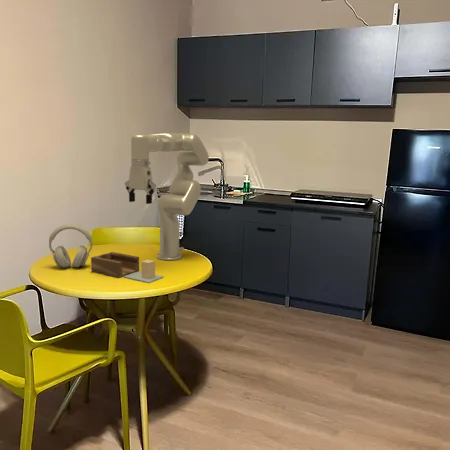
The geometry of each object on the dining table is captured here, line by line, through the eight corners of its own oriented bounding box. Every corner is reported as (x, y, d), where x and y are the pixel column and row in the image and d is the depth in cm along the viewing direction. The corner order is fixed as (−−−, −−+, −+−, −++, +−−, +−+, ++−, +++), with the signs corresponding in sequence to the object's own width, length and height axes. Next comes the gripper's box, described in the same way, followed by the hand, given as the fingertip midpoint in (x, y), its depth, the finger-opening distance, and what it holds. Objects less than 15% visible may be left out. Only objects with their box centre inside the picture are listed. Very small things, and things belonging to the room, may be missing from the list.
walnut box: (112, 265, 212) (112, 251, 211) (139, 271, 204) (139, 256, 203) (91, 272, 201) (91, 257, 200) (118, 278, 193) (118, 263, 192)
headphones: (93, 263, 214) (92, 221, 211) (91, 269, 204) (90, 225, 201) (52, 264, 211) (50, 222, 207) (47, 270, 201) (45, 226, 197)
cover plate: (139, 273, 202) (139, 255, 201) (163, 278, 195) (163, 260, 194) (123, 278, 194) (123, 260, 192) (148, 284, 187) (148, 265, 186)
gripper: (161, 164, 198) (161, 203, 201) (130, 162, 207) (131, 200, 210) (150, 164, 192) (150, 205, 195) (119, 163, 201) (119, 201, 204)
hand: (140, 202), depth 203 cm, fingers open, 9 cm apart
